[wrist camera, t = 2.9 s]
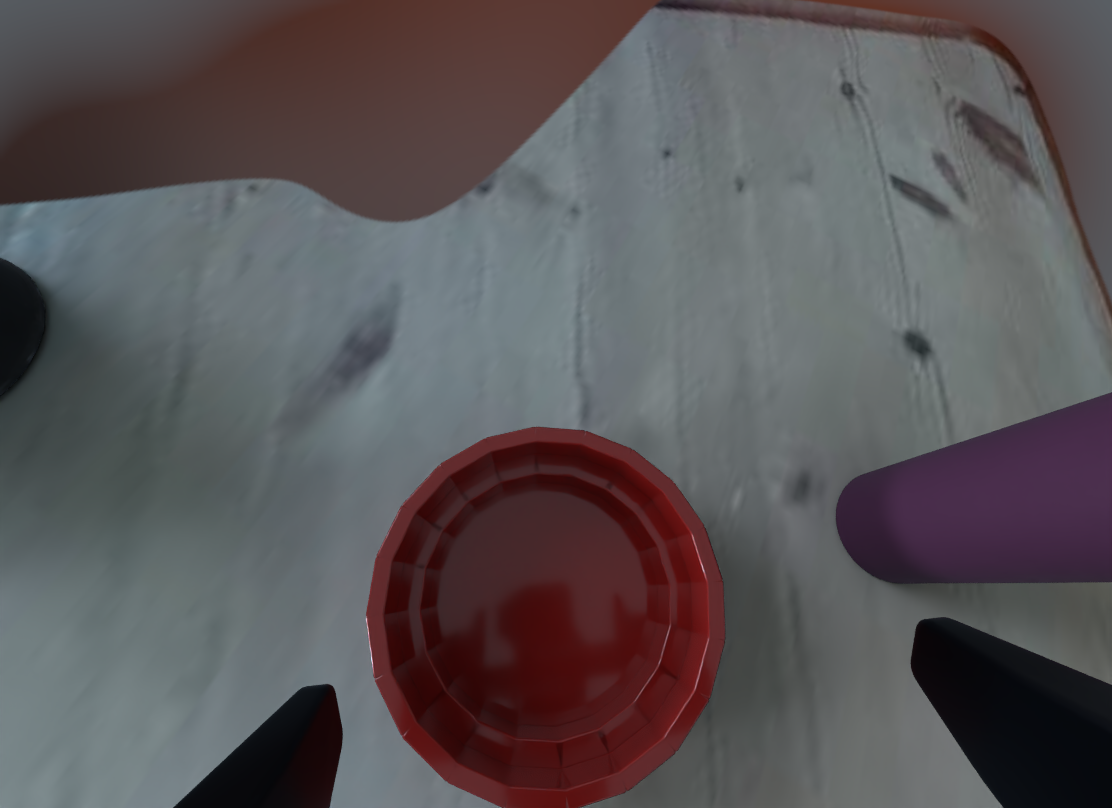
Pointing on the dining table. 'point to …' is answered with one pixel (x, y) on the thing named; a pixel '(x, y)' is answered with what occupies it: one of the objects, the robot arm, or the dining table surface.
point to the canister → (992, 506)
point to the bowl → (546, 619)
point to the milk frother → (18, 322)
